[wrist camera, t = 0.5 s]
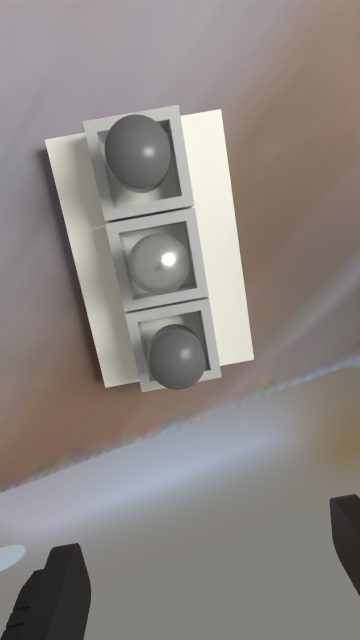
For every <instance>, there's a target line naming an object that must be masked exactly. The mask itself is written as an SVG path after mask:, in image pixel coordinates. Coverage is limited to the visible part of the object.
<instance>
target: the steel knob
mask: <svg viewBox="0 0 360 640" xmlns="http://www.w3.org/2000/svg"><path fill="white" fill-rule="evenodd" d="M128 266H129V272H130V275H131V277H132V279H133V281H134V282H135V283H136V285H137V286H138V287H140V288H141V289H142V290H144V291H146V292H148V293H151V294H157V295H161V294H167V293H170V292H172V291H174V290H176V289H177V288H178V287H180V286H181V285H182V283H183V282H184V280H185V279H186V277H187V274H188V271H189V258H188V254H187V251H186V250H185V248H184V246H183V245H182V244H181V243H180V242H179V241H178V240H177V239H176V238H174V237H172V236H170V235H167V234H162V233H155V234H150V235H147V236H145V237H143V238H142V239H140V240H139V241H138V242H137V243H136V244H135V245H134V247H133V248H132V250H131V253H130V256H129V261H128Z"/></svg>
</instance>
